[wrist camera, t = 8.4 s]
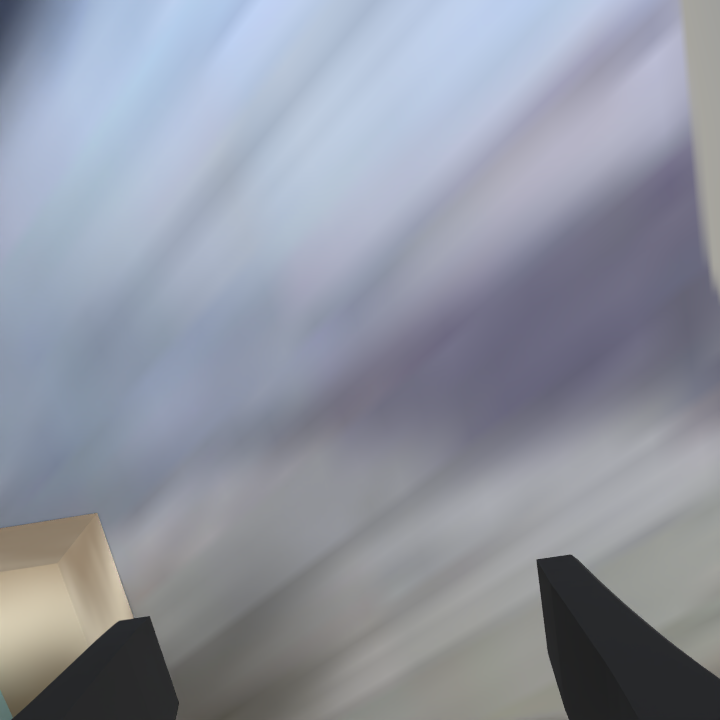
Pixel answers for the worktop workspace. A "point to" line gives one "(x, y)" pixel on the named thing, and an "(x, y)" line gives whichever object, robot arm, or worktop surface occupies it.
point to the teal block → (4, 709)
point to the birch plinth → (53, 601)
